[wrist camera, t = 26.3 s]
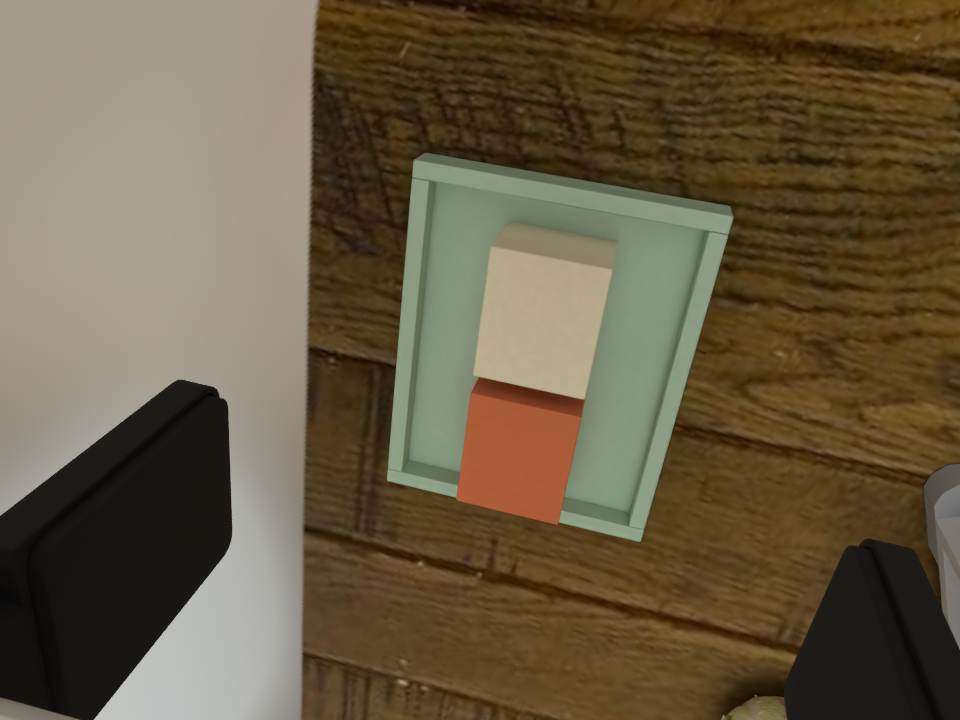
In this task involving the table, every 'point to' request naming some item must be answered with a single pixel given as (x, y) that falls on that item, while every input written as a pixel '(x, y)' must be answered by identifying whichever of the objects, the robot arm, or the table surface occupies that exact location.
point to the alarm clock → (946, 538)
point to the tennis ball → (759, 709)
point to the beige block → (543, 308)
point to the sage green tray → (622, 339)
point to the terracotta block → (518, 449)
